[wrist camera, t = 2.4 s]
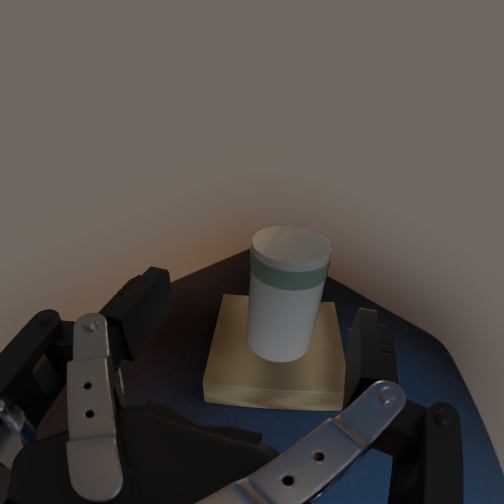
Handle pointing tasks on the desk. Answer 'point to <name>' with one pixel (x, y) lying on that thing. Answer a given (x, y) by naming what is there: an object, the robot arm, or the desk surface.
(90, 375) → the robot arm
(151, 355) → the desk surface
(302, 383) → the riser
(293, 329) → the canister
